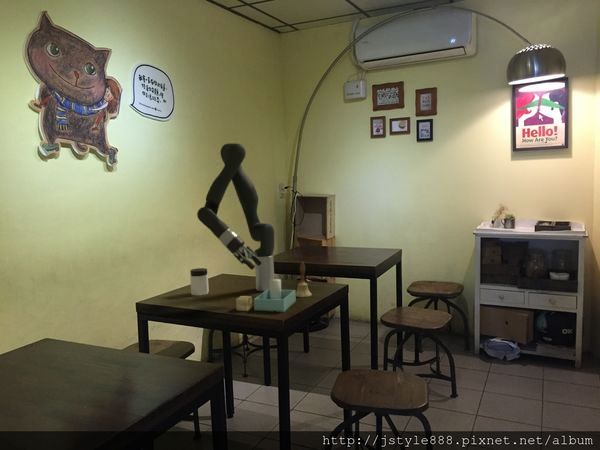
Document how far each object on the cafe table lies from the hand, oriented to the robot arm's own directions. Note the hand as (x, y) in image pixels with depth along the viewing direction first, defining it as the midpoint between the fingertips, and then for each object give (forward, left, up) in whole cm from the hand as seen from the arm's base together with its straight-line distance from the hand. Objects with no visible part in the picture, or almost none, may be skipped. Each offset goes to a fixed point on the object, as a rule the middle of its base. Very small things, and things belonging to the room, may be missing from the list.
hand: (257, 266), depth 211 cm
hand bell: (-16, +16, -17) cm, 28 cm away
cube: (+10, -3, -17) cm, 20 cm away
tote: (+4, +9, -17) cm, 19 cm away
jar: (-13, -36, -17) cm, 42 cm away
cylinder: (0, +8, -16) cm, 18 cm away
